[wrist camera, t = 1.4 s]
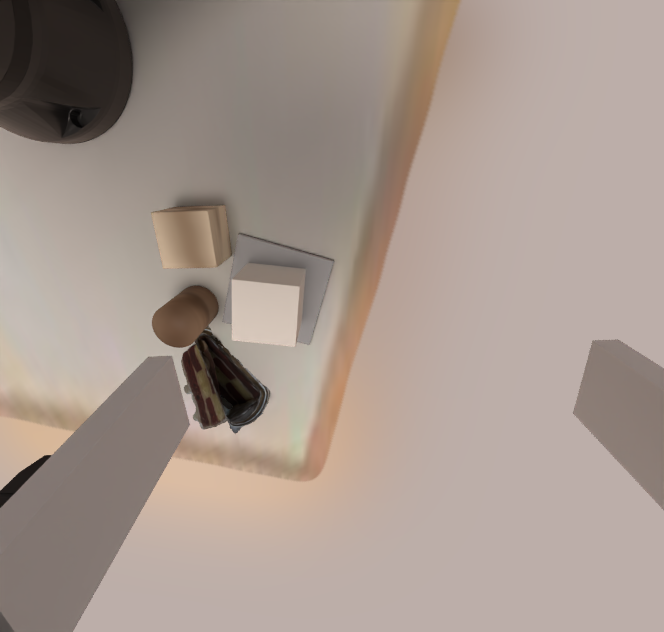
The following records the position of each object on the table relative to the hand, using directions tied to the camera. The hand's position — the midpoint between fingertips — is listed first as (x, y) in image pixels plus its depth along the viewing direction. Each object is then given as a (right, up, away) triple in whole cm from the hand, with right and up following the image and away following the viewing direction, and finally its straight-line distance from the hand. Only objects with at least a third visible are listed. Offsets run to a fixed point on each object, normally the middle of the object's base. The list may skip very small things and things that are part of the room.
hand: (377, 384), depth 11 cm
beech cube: (-14, +11, +25) cm, 31 cm away
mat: (-7, +5, +27) cm, 28 cm away
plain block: (-7, +5, +26) cm, 28 cm away
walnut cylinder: (-16, +3, +28) cm, 32 cm away
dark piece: (-15, -5, +32) cm, 36 cm away
